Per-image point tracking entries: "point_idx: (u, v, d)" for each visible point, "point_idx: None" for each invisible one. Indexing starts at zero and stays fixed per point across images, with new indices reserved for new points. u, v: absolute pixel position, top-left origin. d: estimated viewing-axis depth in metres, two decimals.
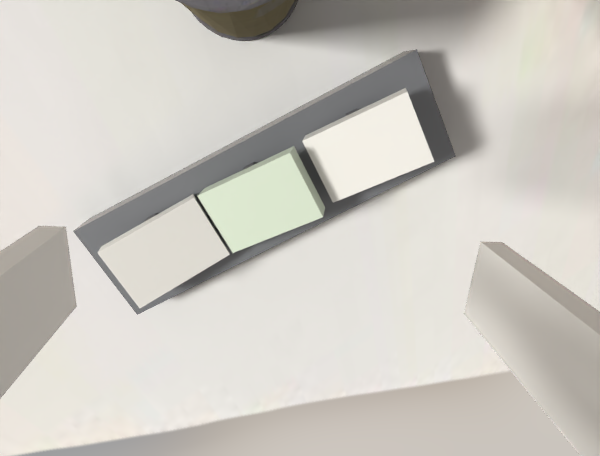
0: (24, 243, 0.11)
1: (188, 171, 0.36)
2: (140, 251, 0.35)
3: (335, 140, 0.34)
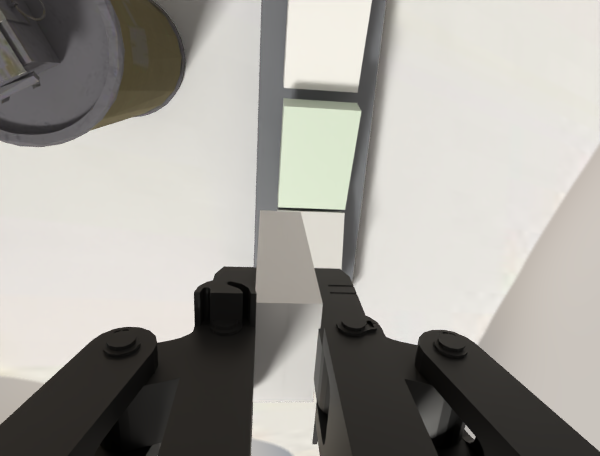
0: (269, 223, 0.14)
1: (256, 200, 0.38)
2: None
3: (300, 55, 0.32)
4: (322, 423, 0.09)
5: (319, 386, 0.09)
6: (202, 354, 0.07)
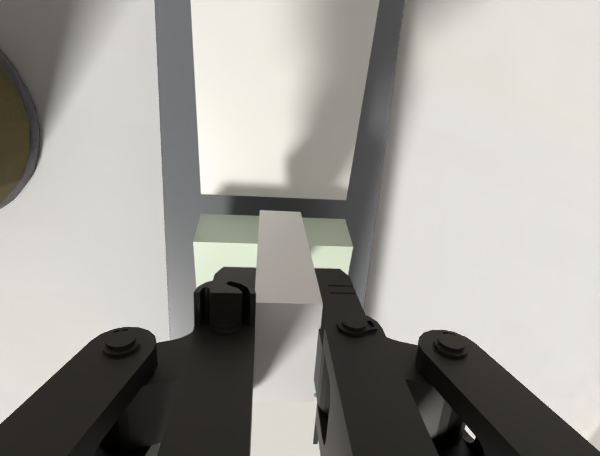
0: (268, 223, 0.14)
1: None
2: None
3: (227, 136, 0.16)
4: (323, 423, 0.09)
5: (319, 386, 0.09)
6: (201, 354, 0.07)
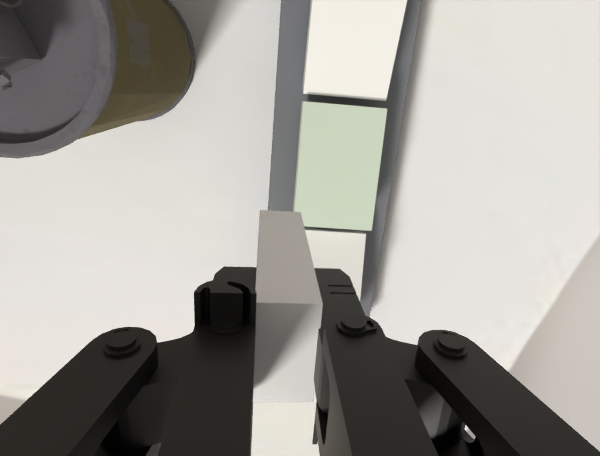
0: (268, 223, 0.14)
1: None
2: None
3: (323, 57, 0.28)
4: (322, 423, 0.09)
5: (319, 386, 0.09)
6: (202, 354, 0.07)
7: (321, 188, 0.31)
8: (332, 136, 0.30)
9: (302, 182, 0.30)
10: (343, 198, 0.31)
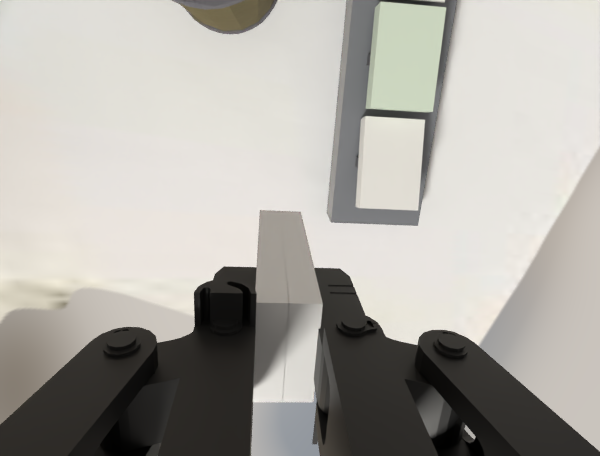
0: (268, 223, 0.14)
1: (342, 111, 0.42)
2: (378, 180, 0.41)
3: None
4: (322, 423, 0.09)
5: (319, 386, 0.09)
6: (202, 354, 0.07)
7: (393, 75, 0.38)
8: (403, 31, 0.37)
9: (378, 70, 0.38)
10: (410, 84, 0.38)
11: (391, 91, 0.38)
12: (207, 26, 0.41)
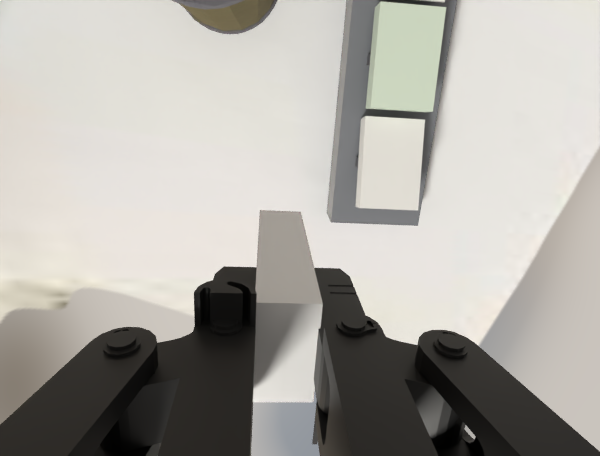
0: (269, 223, 0.14)
1: (342, 111, 0.42)
2: (378, 180, 0.41)
3: None
4: (322, 423, 0.09)
5: (319, 386, 0.09)
6: (202, 354, 0.07)
7: (393, 75, 0.38)
8: (402, 30, 0.37)
9: (378, 70, 0.38)
10: (410, 83, 0.38)
11: (391, 91, 0.38)
12: (207, 26, 0.41)
